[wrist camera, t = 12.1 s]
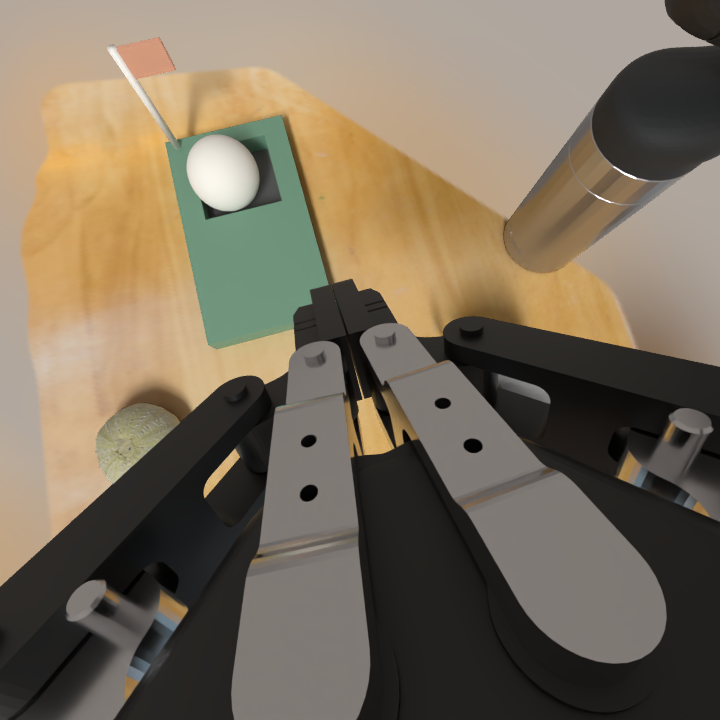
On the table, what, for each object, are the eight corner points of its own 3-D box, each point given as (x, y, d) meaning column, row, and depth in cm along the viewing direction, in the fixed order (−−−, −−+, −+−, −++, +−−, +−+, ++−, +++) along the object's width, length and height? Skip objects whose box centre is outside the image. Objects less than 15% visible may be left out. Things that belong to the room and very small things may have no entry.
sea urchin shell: (145, 380, 40) (146, 418, 34) (197, 418, 45) (206, 456, 39) (78, 435, 39) (65, 484, 33) (139, 468, 44) (138, 516, 38)
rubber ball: (252, 158, 37) (275, 213, 44) (235, 108, 39) (259, 168, 47) (178, 183, 36) (214, 234, 44) (166, 130, 39) (202, 187, 47)
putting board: (285, 130, 48) (253, 6, 33) (337, 317, 43) (326, 266, 29) (175, 157, 47) (95, 41, 33) (216, 349, 42) (145, 313, 28)
